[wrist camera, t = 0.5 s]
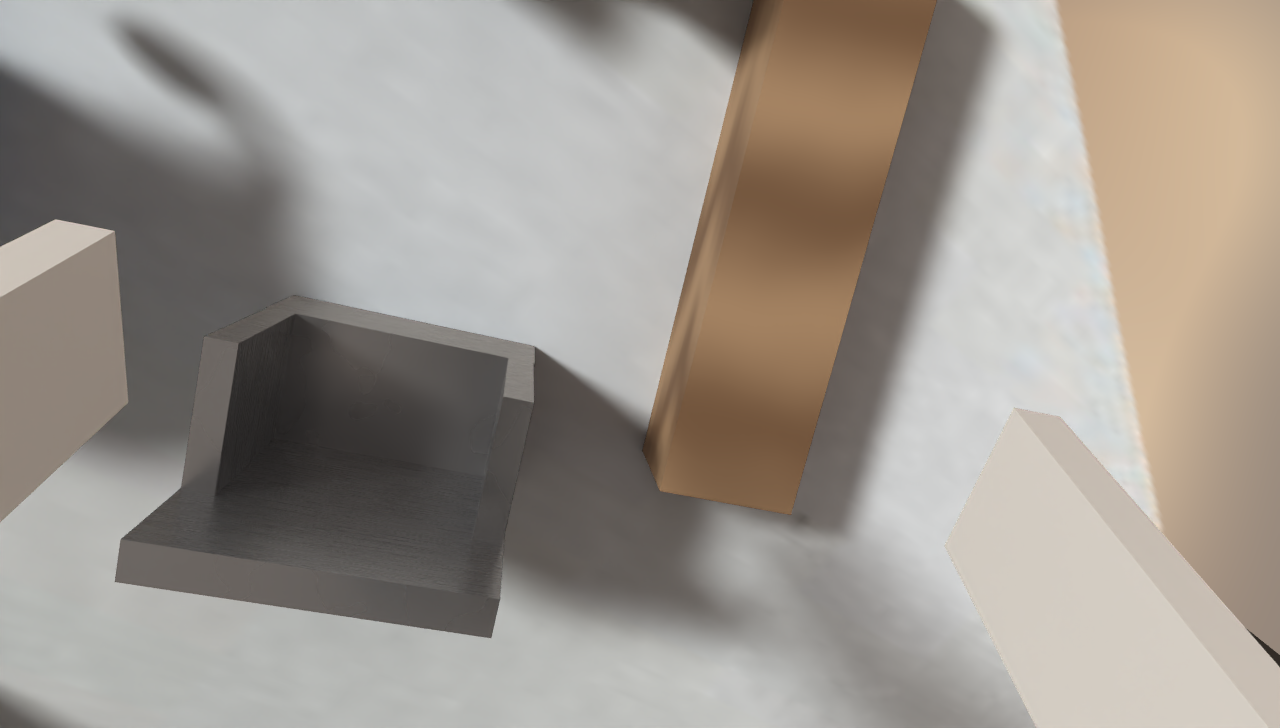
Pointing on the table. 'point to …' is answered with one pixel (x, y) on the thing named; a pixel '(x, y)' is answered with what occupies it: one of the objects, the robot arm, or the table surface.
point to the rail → (781, 244)
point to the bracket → (345, 469)
